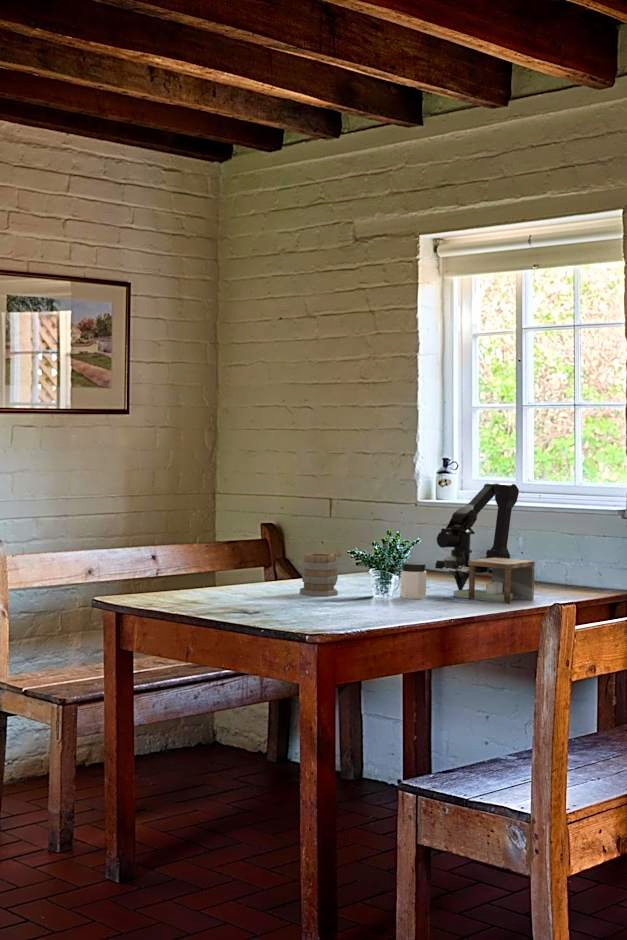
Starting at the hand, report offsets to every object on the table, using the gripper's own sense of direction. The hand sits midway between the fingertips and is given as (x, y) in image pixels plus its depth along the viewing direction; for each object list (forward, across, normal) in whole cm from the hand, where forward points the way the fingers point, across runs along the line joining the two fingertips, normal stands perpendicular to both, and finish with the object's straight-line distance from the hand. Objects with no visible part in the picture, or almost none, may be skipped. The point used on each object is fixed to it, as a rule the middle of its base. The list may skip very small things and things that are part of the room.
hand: (460, 590), depth 456 cm
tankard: (+2, -35, -33) cm, 48 cm away
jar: (+2, -8, -19) cm, 20 cm away
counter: (+1, +16, 0) cm, 16 cm away
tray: (+2, +10, 0) cm, 10 cm away
